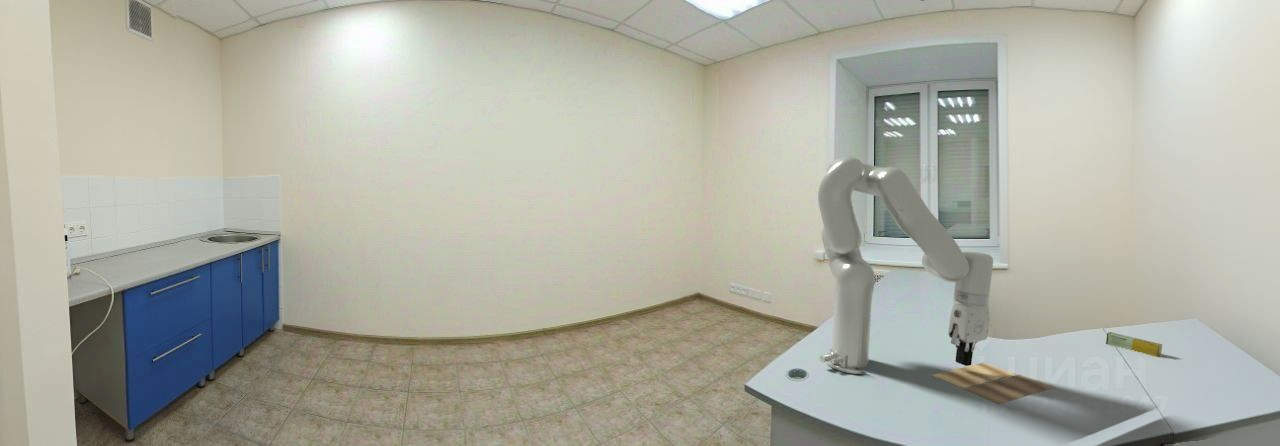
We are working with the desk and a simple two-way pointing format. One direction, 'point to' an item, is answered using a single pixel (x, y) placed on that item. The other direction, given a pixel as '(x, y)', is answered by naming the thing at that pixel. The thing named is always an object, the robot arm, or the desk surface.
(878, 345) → the desk surface
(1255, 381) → the desk surface
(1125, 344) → the medication box
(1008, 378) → the walnut board
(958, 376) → the oak plank
